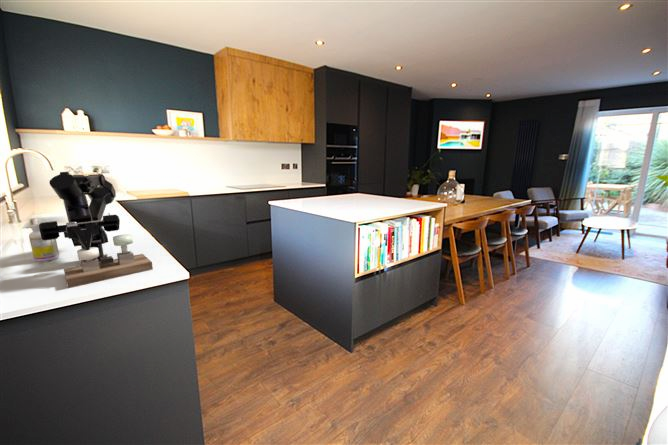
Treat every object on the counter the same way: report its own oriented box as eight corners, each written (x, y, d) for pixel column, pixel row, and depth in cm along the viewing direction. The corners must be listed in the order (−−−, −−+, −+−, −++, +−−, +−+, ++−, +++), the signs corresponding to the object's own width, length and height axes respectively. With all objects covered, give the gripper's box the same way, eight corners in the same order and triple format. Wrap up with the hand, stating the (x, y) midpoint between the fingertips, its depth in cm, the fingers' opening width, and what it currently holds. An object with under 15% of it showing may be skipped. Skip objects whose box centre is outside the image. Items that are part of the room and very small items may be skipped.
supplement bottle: (45, 256, 112) (38, 222, 109) (64, 255, 112) (57, 222, 109) (29, 262, 105) (21, 226, 102) (49, 261, 106) (41, 226, 103)
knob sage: (114, 253, 97) (111, 236, 96) (132, 249, 100) (129, 233, 99) (117, 256, 93) (114, 239, 92) (135, 253, 97) (133, 236, 96)
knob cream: (79, 267, 91) (76, 249, 90) (100, 263, 95) (97, 246, 94) (81, 271, 88) (77, 253, 87) (102, 267, 91) (99, 249, 90)
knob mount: (65, 276, 92) (61, 259, 91) (143, 260, 107) (141, 245, 106) (68, 288, 84) (64, 269, 83) (152, 269, 98) (150, 253, 97)
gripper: (112, 219, 106) (124, 256, 101) (40, 227, 94) (48, 270, 88) (113, 199, 99) (125, 237, 94) (34, 205, 87) (43, 250, 81)
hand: (87, 249), depth 90 cm, fingers closed, pressing on knob cream
